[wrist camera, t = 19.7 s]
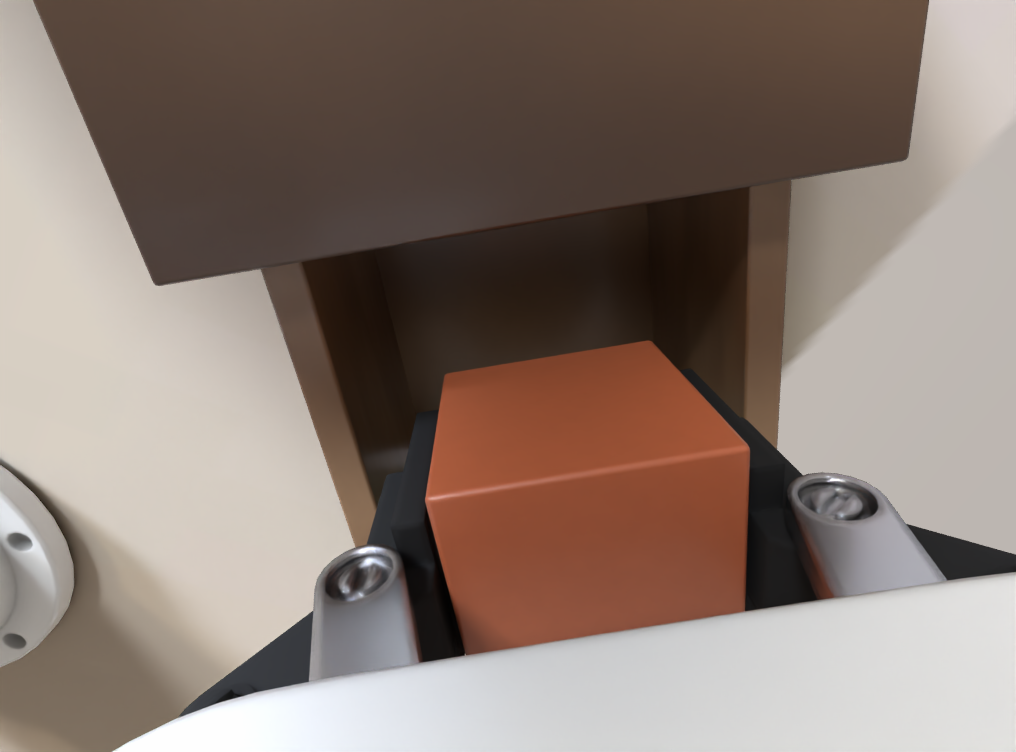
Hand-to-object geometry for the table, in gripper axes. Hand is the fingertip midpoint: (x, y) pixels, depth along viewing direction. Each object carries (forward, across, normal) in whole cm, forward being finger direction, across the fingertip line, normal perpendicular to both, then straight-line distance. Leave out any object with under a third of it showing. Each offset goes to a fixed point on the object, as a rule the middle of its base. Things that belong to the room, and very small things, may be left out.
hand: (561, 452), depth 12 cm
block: (0, 0, 0) cm, 0 cm away
